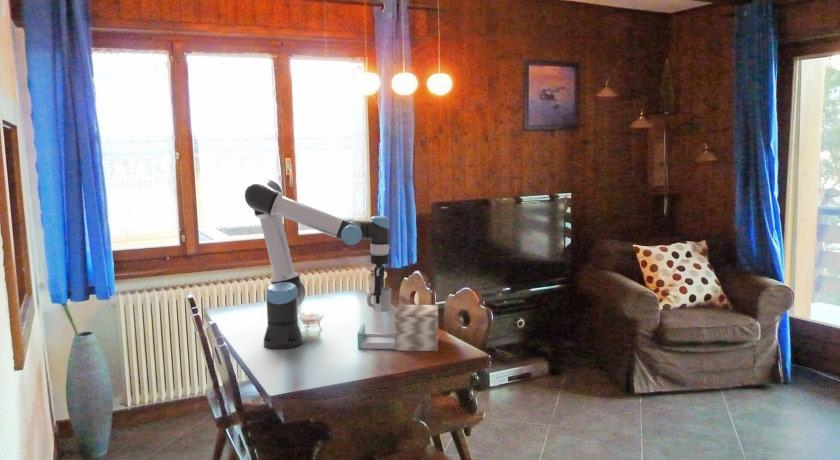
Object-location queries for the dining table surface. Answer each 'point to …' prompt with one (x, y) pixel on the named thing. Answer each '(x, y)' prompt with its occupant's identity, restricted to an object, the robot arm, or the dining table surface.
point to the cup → (384, 299)
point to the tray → (375, 340)
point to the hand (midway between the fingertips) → (378, 308)
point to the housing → (416, 327)
